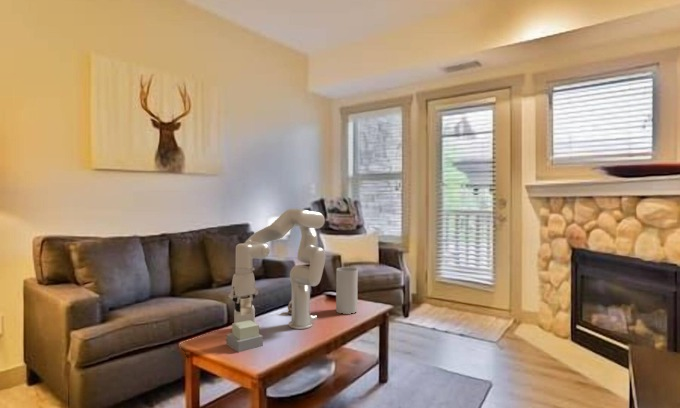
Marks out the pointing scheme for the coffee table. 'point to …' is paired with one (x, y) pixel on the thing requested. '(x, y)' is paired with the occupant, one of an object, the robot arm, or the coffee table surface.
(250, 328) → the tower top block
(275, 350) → the coffee table surface
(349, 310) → the cylinder vase
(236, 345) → the tower bottom block
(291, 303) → the decorative ornament
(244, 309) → the ash block
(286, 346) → the coffee table surface
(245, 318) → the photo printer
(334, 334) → the coffee table surface
